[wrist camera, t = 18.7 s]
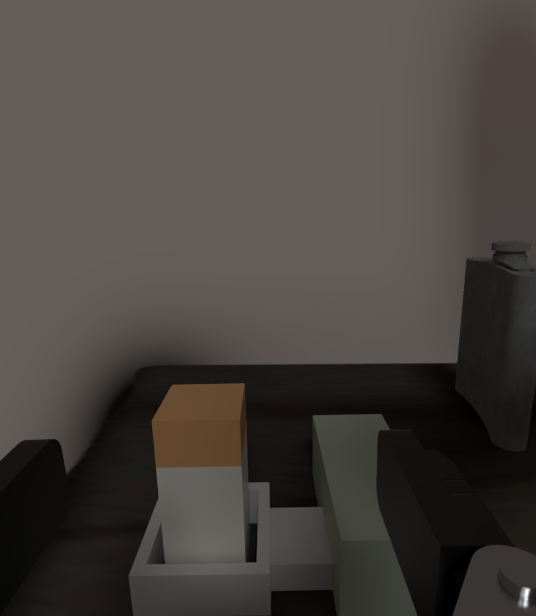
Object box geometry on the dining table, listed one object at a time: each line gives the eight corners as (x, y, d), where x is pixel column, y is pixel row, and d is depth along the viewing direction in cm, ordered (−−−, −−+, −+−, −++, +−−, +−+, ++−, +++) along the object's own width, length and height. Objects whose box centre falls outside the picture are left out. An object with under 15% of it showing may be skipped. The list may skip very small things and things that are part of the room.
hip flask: (452, 385, 55) (465, 237, 51) (483, 386, 55) (499, 237, 50) (497, 450, 40) (522, 247, 36) (542, 453, 40) (572, 247, 35)
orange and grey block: (250, 531, 30) (244, 383, 28) (246, 591, 26) (239, 419, 23) (183, 532, 31) (172, 384, 28) (167, 593, 26) (151, 420, 23)
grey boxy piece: (378, 474, 37) (381, 414, 35) (443, 627, 23) (452, 538, 22) (179, 478, 37) (175, 418, 36) (128, 633, 23) (117, 545, 22)
